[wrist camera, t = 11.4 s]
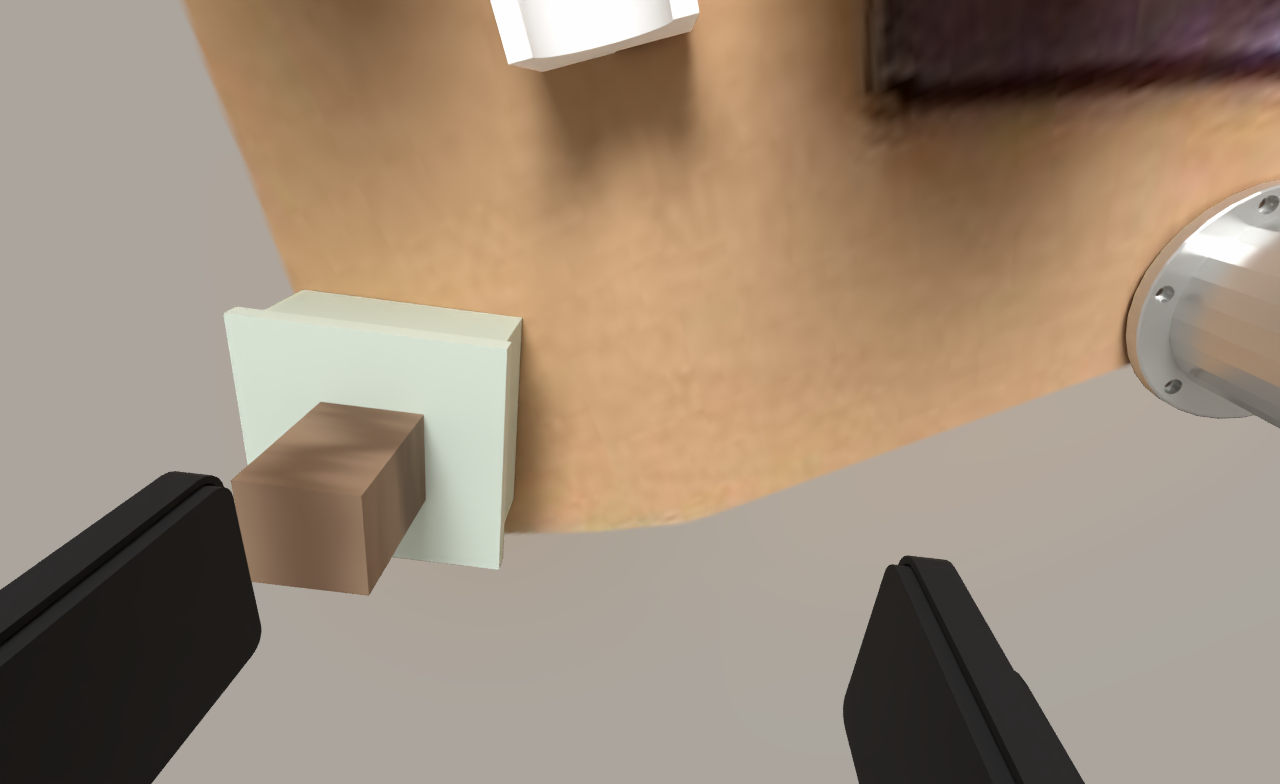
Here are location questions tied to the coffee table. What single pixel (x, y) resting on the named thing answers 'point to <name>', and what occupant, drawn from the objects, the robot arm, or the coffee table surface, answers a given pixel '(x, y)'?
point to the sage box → (396, 399)
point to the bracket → (585, 28)
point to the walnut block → (332, 498)
